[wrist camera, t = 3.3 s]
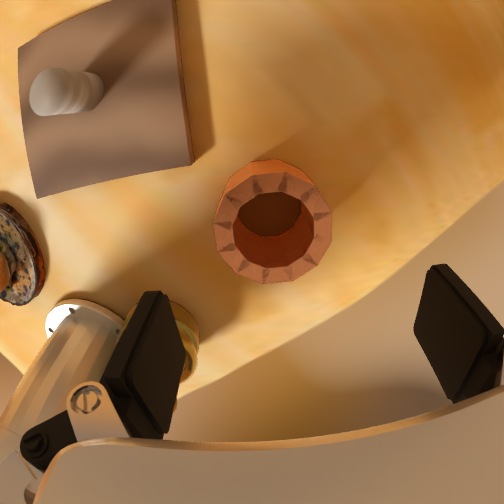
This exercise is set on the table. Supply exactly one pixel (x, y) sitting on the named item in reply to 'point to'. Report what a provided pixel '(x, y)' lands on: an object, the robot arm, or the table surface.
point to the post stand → (104, 96)
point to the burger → (18, 259)
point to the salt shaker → (188, 336)
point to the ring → (272, 247)
